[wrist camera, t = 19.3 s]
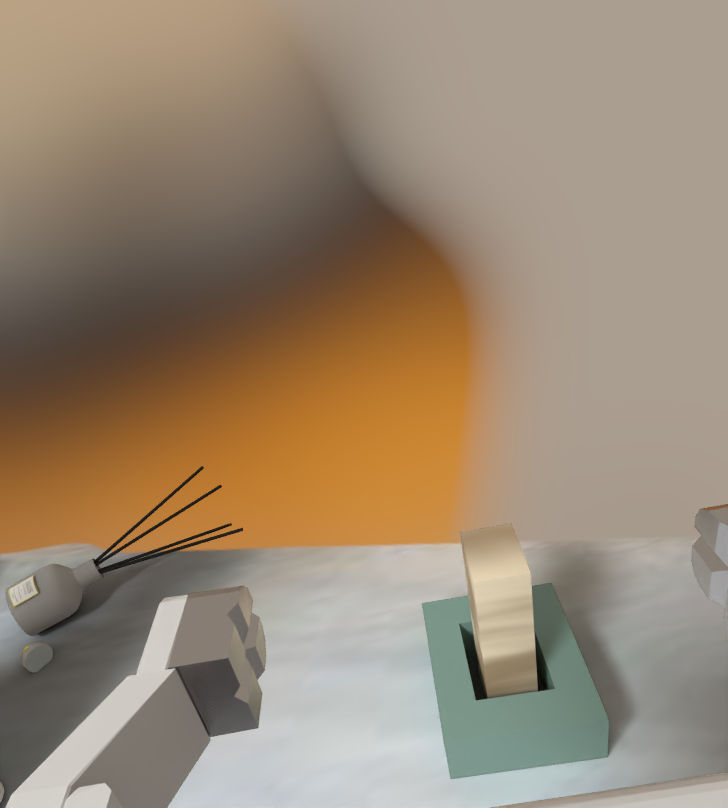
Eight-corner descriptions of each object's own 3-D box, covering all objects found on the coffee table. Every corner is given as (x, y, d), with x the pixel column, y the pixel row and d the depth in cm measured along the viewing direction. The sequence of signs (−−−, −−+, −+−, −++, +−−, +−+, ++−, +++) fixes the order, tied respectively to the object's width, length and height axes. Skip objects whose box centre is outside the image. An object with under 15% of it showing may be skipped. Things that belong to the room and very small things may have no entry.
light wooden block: (539, 715, 37) (530, 573, 31) (490, 722, 37) (473, 582, 32) (522, 660, 41) (511, 523, 35) (477, 666, 41) (460, 531, 35)
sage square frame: (607, 756, 34) (608, 719, 33) (450, 779, 35) (444, 742, 33) (552, 618, 43) (551, 582, 41) (428, 637, 43) (422, 603, 42)
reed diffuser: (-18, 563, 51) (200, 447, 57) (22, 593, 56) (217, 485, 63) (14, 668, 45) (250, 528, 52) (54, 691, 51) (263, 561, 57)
